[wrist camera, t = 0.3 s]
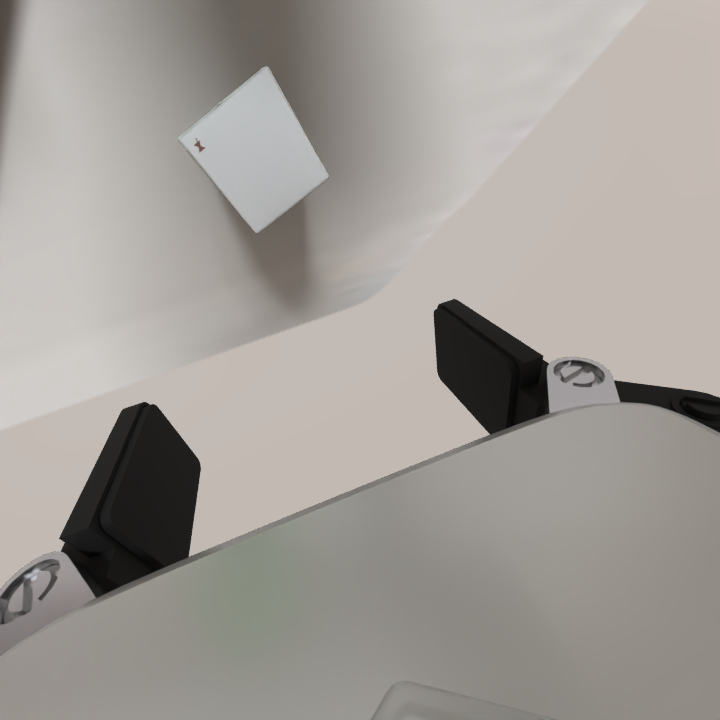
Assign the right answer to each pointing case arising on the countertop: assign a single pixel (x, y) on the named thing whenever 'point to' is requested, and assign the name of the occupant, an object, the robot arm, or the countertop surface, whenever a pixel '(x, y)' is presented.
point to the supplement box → (256, 151)
